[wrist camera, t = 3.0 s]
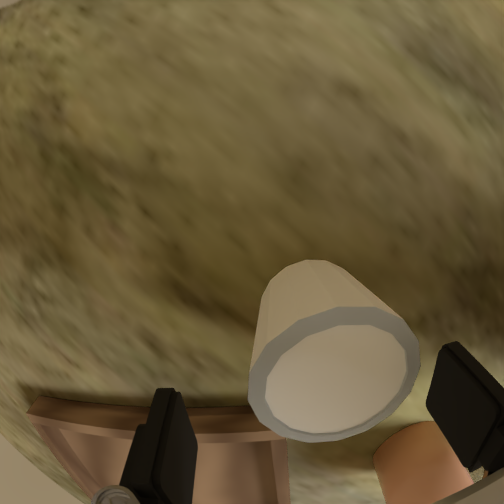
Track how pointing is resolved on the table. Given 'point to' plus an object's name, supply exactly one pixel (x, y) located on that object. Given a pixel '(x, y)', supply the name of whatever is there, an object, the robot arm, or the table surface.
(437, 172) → the table surface
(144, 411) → the walnut tray
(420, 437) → the peach rounded capsule
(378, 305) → the white tapered cup
